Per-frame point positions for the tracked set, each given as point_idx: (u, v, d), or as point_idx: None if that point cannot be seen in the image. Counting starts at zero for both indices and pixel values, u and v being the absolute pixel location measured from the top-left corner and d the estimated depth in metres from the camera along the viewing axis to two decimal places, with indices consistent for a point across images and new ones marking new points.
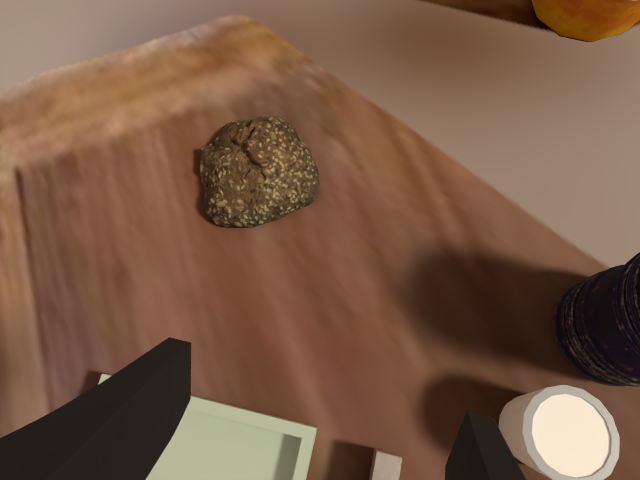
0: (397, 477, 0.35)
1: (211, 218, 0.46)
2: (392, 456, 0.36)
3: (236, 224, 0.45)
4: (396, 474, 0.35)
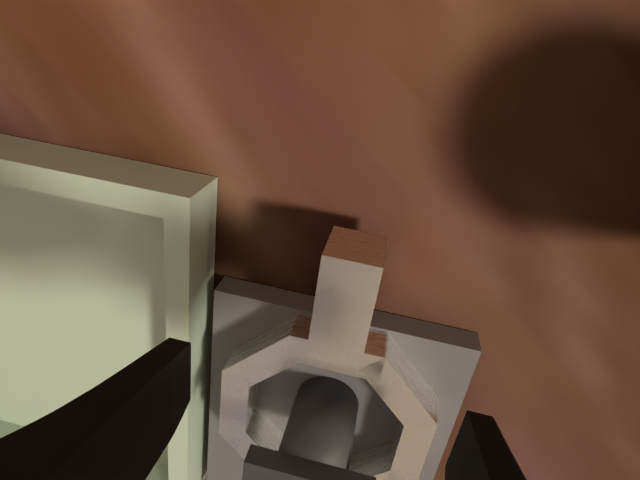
0: (371, 304, 0.15)
1: None
2: (358, 264, 0.15)
3: None
4: (368, 299, 0.15)
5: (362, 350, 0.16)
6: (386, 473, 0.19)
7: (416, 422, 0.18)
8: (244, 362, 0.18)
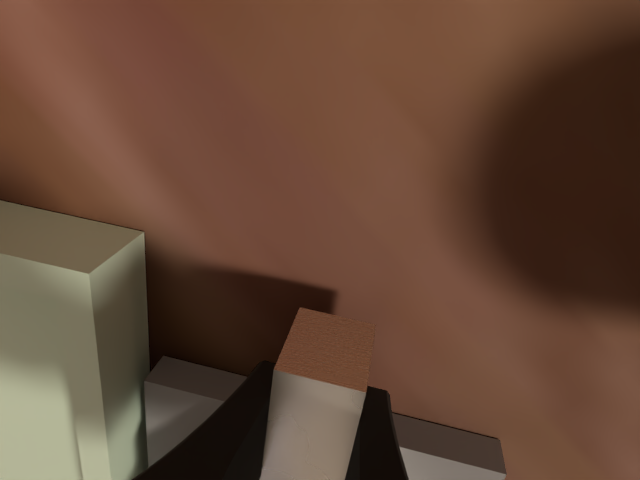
0: (348, 438, 0.10)
1: None
2: (328, 385, 0.10)
3: None
4: (345, 432, 0.10)
5: None
6: None
7: None
8: None
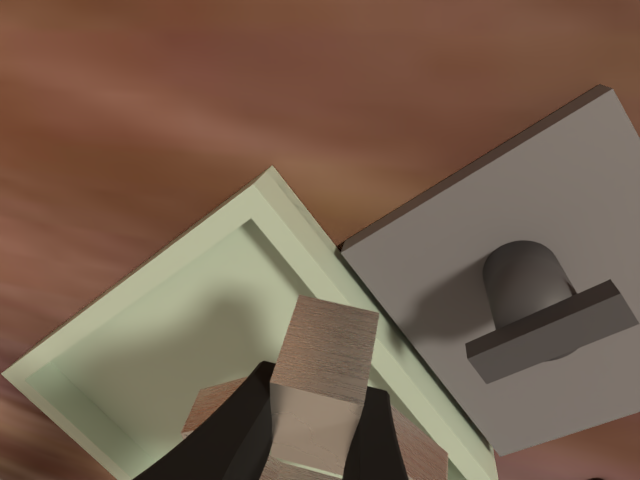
0: (349, 433, 0.10)
1: None
2: (326, 397, 0.09)
3: None
4: (345, 428, 0.10)
5: (343, 464, 0.12)
6: None
7: None
8: None
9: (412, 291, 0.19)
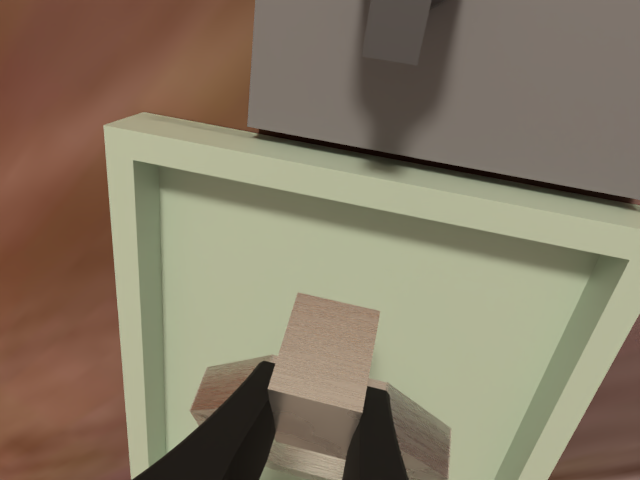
0: (349, 431, 0.10)
1: None
2: (324, 404, 0.09)
3: None
4: (345, 428, 0.10)
5: (345, 452, 0.12)
6: None
7: (422, 473, 0.15)
8: (211, 410, 0.15)
9: (342, 96, 0.15)
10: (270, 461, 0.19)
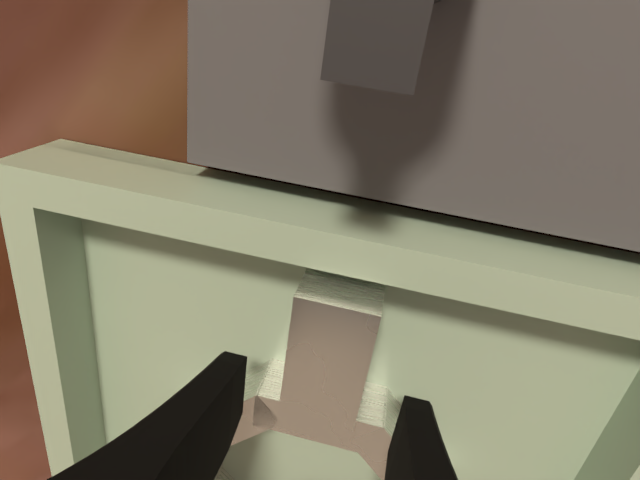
0: (364, 365, 0.11)
1: None
2: (345, 311, 0.10)
3: None
4: (360, 358, 0.11)
5: (352, 423, 0.12)
6: None
7: None
8: None
9: (312, 125, 0.11)
10: None
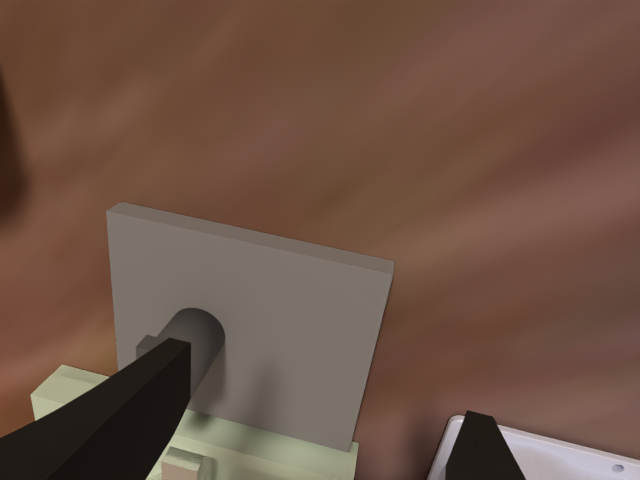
0: None
1: None
2: (182, 468, 0.24)
3: None
4: None
5: None
6: None
7: None
8: None
9: None
10: None
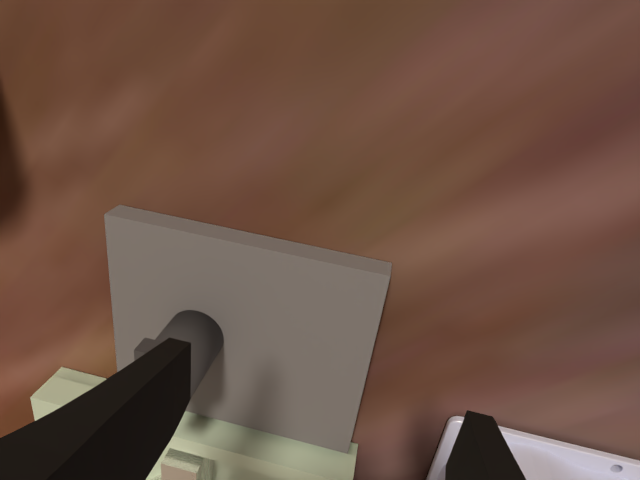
0: None
1: None
2: (182, 470, 0.24)
3: None
4: None
5: None
6: None
7: None
8: None
9: None
10: None
